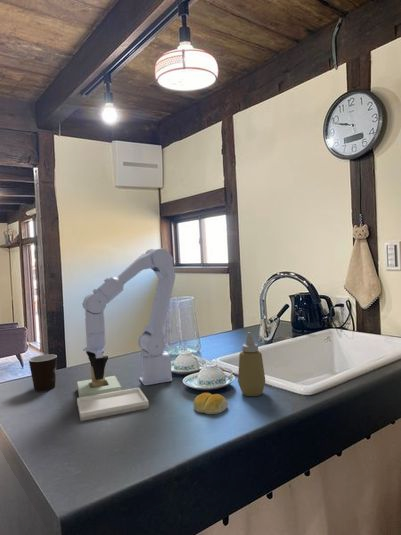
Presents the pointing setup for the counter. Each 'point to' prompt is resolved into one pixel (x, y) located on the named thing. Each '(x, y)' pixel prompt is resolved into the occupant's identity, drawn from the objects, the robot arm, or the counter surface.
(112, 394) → the tray
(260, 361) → the squeeze bottle
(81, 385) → the pin holder
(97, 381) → the oak pin
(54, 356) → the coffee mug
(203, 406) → the bread roll
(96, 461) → the counter surface
